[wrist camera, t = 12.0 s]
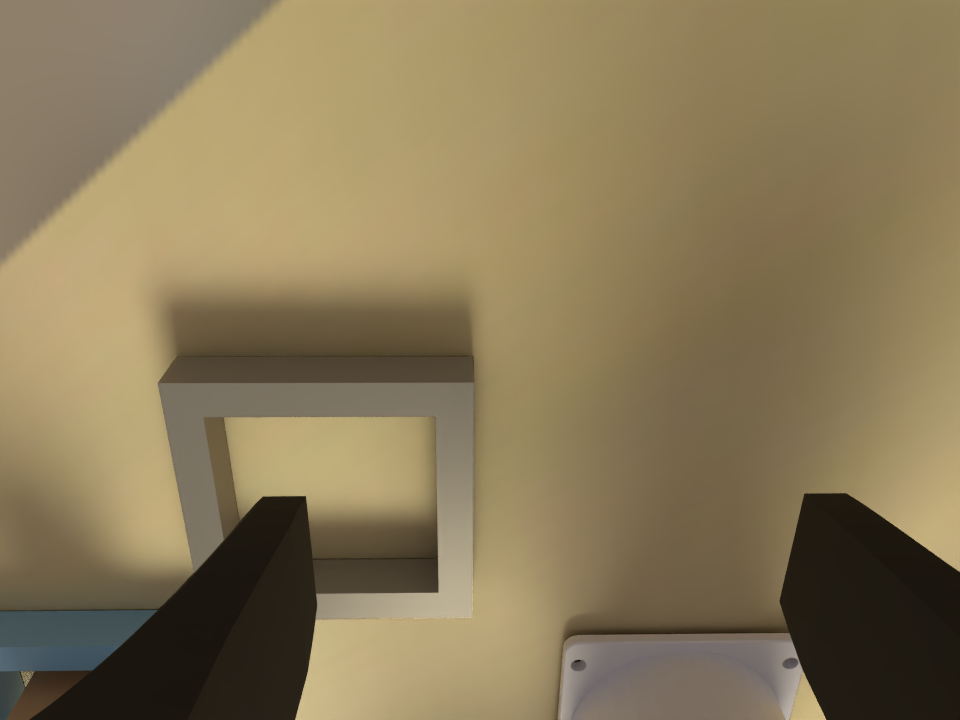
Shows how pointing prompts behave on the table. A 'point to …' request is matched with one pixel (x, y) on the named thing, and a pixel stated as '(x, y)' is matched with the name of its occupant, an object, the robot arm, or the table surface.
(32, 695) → the walnut peg
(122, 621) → the blue rim cradle
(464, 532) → the frame
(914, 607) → the robot arm
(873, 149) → the table surface
